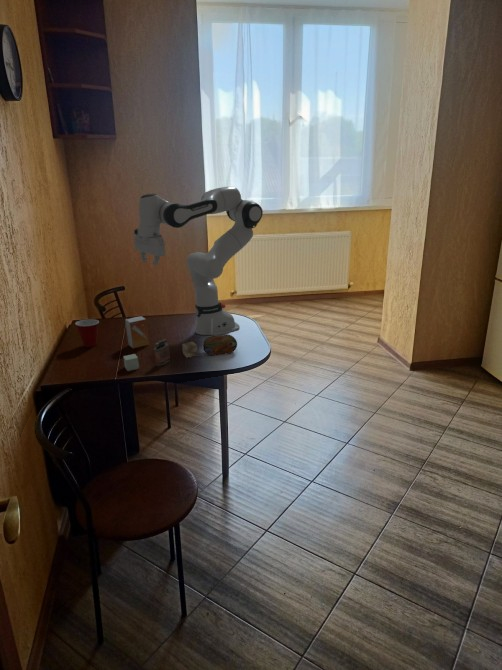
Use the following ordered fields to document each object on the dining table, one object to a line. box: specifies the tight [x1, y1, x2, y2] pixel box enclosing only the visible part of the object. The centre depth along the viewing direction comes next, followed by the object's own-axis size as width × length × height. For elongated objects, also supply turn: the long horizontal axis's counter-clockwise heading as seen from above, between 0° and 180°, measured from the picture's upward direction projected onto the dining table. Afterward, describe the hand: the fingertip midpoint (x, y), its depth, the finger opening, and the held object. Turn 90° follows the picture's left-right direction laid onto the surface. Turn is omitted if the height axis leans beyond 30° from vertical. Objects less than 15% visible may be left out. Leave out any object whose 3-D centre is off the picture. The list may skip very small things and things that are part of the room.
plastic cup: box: [74, 318, 100, 348], centre depth 223 cm, size 11×11×12 cm
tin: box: [202, 334, 238, 357], centre depth 206 cm, size 15×3×8 cm, turn 101°
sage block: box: [123, 353, 140, 372], centre depth 196 cm, size 5×5×5 cm
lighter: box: [153, 338, 171, 367], centre depth 199 cm, size 8×3×10 cm, turn 148°
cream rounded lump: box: [181, 341, 199, 359], centre depth 207 cm, size 5×5×5 cm
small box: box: [124, 315, 150, 349], centre depth 220 cm, size 8×6×13 cm
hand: (149, 263), depth 210 cm, fingers open, 8 cm apart
